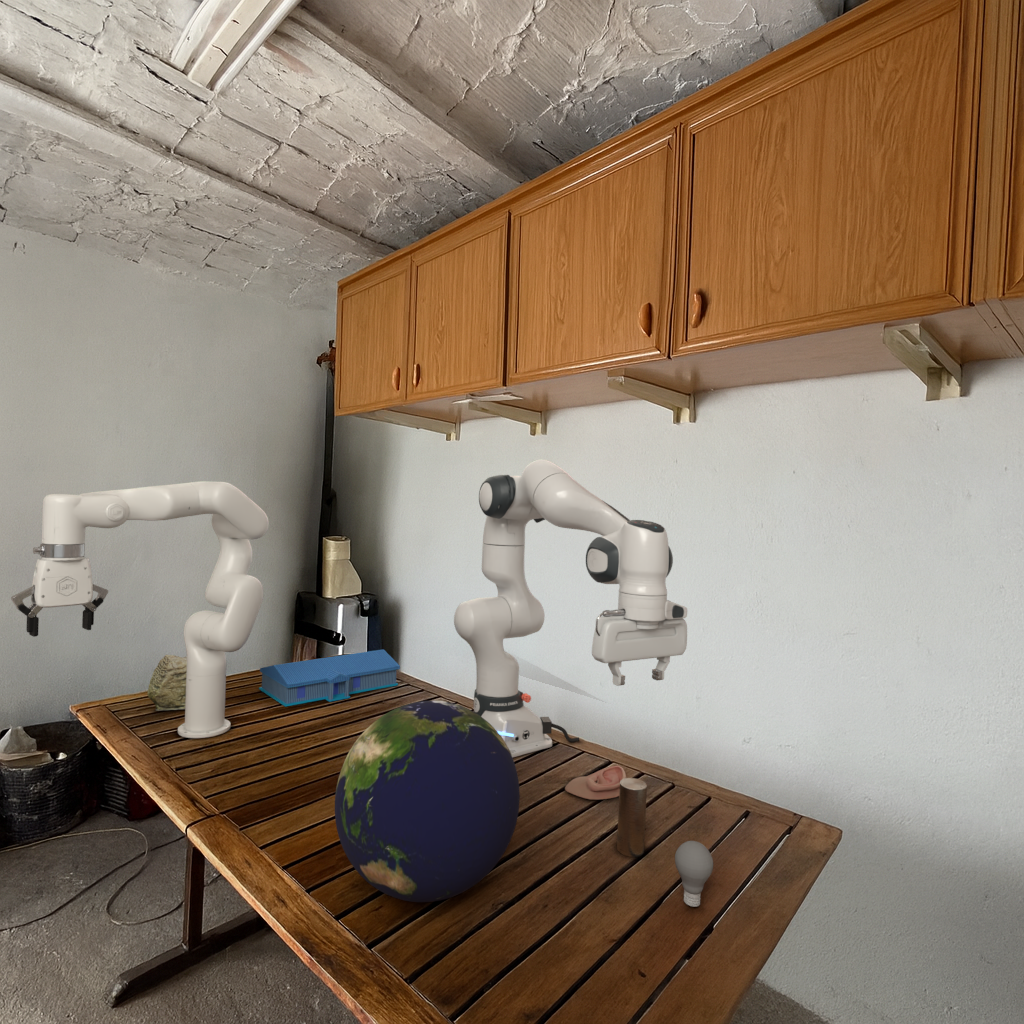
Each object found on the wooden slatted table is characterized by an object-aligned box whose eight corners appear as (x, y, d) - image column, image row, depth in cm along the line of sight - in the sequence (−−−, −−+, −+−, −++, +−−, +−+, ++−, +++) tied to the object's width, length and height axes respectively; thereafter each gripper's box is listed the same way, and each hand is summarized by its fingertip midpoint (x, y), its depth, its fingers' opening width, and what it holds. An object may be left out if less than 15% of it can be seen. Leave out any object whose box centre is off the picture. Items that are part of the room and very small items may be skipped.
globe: (289, 913, 96) (297, 717, 96) (396, 823, 124) (403, 671, 123) (466, 976, 85) (475, 755, 84) (540, 862, 113) (548, 695, 112)
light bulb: (667, 892, 105) (670, 833, 105) (702, 892, 106) (705, 833, 106) (680, 916, 99) (683, 853, 99) (717, 916, 100) (720, 853, 100)
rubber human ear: (563, 778, 138) (569, 757, 150) (563, 796, 138) (569, 774, 150) (625, 786, 136) (626, 764, 147) (624, 804, 136) (625, 781, 147)
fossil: (144, 707, 182) (145, 655, 182) (212, 696, 194) (213, 647, 194) (151, 716, 175) (153, 662, 175) (221, 703, 188) (223, 653, 188)
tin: (646, 846, 120) (649, 781, 120) (640, 859, 115) (644, 792, 115) (620, 840, 122) (623, 775, 122) (614, 852, 117) (617, 786, 117)
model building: (289, 709, 186) (291, 675, 185) (258, 688, 204) (259, 657, 204) (403, 687, 212) (405, 657, 212) (366, 670, 230) (368, 643, 230)
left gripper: (19, 555, 125) (16, 641, 126) (115, 552, 139) (113, 629, 139) (7, 552, 130) (4, 635, 130) (101, 549, 144) (99, 624, 144)
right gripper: (607, 613, 110) (604, 693, 110) (694, 608, 120) (690, 681, 120) (586, 607, 115) (583, 683, 116) (670, 603, 125) (667, 672, 126)
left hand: (60, 632), depth 135 cm, fingers open, 9 cm apart
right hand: (638, 682), depth 118 cm, fingers open, 8 cm apart
